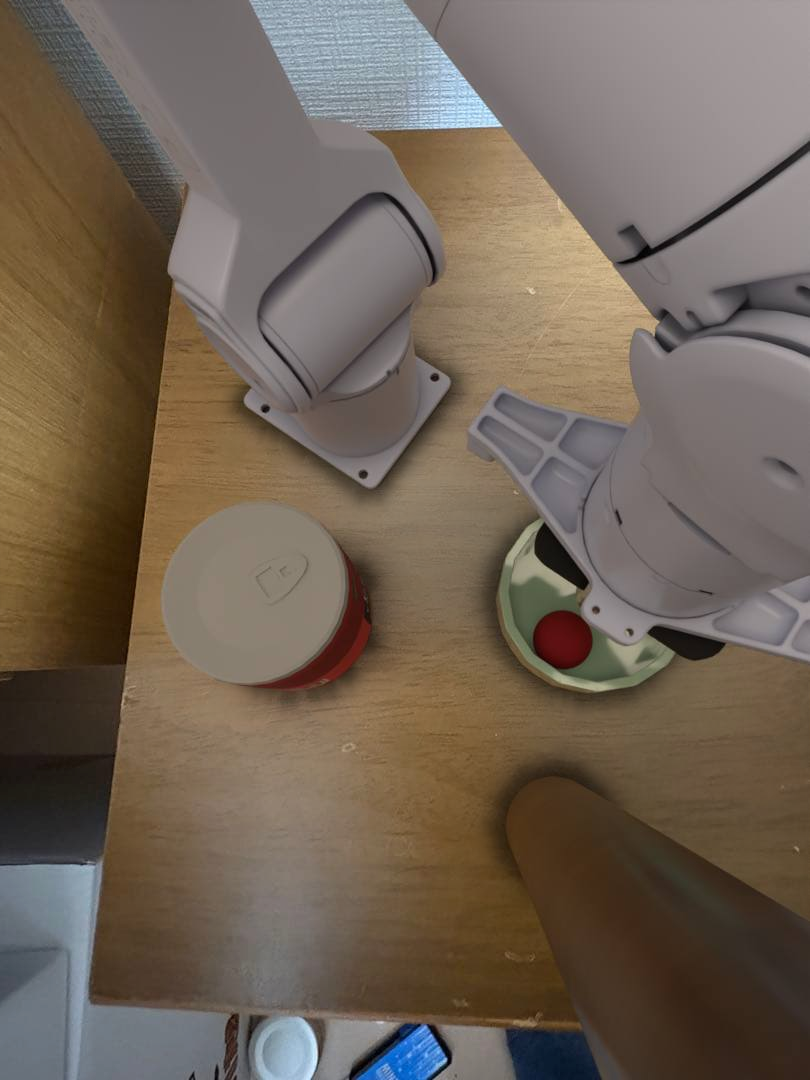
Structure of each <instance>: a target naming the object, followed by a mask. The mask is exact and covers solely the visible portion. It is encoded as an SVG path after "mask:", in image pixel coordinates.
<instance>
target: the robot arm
mask: <svg viewBox="0 0 810 1080" xmlns="http://www.w3.org/2000/svg"><path fill="white" fill-rule="evenodd" d="M402 1H403V3H404V4H405V5H406V7H407V8H408V9H409V10H410V12H411V13H412V14H413V15H414V16H415V18H416V20H417V21H418V22H419V23H420V24H421V25H422V27H423V28H424V30H425V31H426V32H427V33H428V34H429V36H430V37H431V38H432V40H433V41H434V42H435V43H437V45H438V47H439V48H440V49H441V50H442V51H443V53H444V54H445V55H446V57H447V58H448V59H449V60H450V62H451V63H452V64H453V66H454V67H455V68H456V69H457V70H458V72H459V73H460V74H461V75H462V77H463V78H464V79H465V81H466V82H467V83H468V84H469V86H470V87H471V88H472V89H473V91H474V92H475V93H476V95H477V96H478V97H479V98H480V100H482V102H483V103H484V105H485V106H486V107H487V109H488V110H489V111H490V112H491V114H492V115H493V116H494V117H495V119H496V120H497V121H498V122H499V124H500V125H501V126H502V128H503V129H504V131H506V132H507V134H508V135H509V136H510V137H511V139H512V140H513V142H514V143H515V145H517V147H519V149H520V150H521V152H522V153H523V154H524V156H526V158H527V159H528V160H529V162H530V163H531V164H532V166H534V168H535V169H536V171H537V172H539V174H540V176H541V177H542V178H543V179H544V180H545V182H546V183H547V184H548V185H549V187H550V188H551V190H553V192H554V193H555V194H556V196H557V197H558V198H559V200H560V201H561V202H562V203H563V205H564V206H565V207H566V209H567V210H568V211H569V212H570V214H572V216H573V217H574V219H575V220H576V221H577V222H578V223H579V225H580V226H581V227H582V229H583V230H584V232H585V233H587V235H588V236H589V237H590V239H591V240H592V241H593V243H594V244H595V246H597V248H598V249H599V250H600V251H601V253H602V254H603V255H604V256H605V258H606V259H607V260H608V261H609V262H610V263H611V264H612V267H613V269H615V271H616V272H617V273H618V275H619V276H620V277H621V278H622V279H623V281H624V282H625V284H627V286H628V288H630V290H631V291H632V292H633V293H634V295H635V296H636V297H637V298H638V300H639V301H640V303H641V304H642V305H643V306H644V307H645V308H646V310H647V311H648V312H649V314H650V315H651V316H652V318H653V319H654V320H656V321H658V324H656V325H655V327H654V328H655V329H654V335H653V334H652V333H651V332H650V331H649V330H647V329H645V328H642V327H637V328H635V329H634V331H633V332H632V336H631V339H630V344H629V351H628V352H629V354H628V362H629V363H628V364H629V365H628V367H629V373H630V379H631V383H632V388H633V391H634V393H635V396H636V400H637V401H638V404H639V406H640V407H639V409H638V411H636V413H635V415H634V417H633V419H632V421H631V422H630V423H627V422H622V421H619V420H614V419H610V418H605V417H601V416H596V415H593V414H589V413H584V412H579V411H575V410H570V409H566V408H562V407H558V406H553V405H550V404H546V403H543V402H540V401H537V400H534V399H530V398H529V397H526V396H524V395H522V394H520V393H518V392H516V391H514V390H513V389H511V388H509V387H507V386H506V385H504V384H503V383H501V384H499V385H498V386H497V387H496V389H495V390H494V391H493V393H492V394H491V396H490V397H489V399H488V400H487V401H486V403H485V404H484V405H483V407H482V409H481V410H480V411H479V412H478V414H477V415H476V416H475V418H474V419H473V420H472V422H471V423H470V424H469V426H468V428H467V431H466V433H467V434H466V439H467V440H466V449H467V450H468V451H469V452H471V453H472V454H474V455H475V456H477V457H478V458H480V459H481V460H483V461H485V462H487V463H492V462H495V461H496V462H497V463H498V464H499V466H501V468H503V470H504V471H505V472H506V473H507V475H508V476H509V477H510V478H511V480H512V481H513V482H514V484H515V485H516V486H517V488H518V489H519V490H520V492H521V493H522V494H523V495H524V497H525V498H526V499H527V501H528V502H529V503H530V505H531V506H532V507H533V509H534V510H535V512H536V513H537V514H538V515H539V516H540V518H542V519H543V520H544V523H543V524H542V526H541V527H540V529H539V530H538V532H537V535H536V538H535V543H534V554H535V555H536V557H537V558H538V559H539V561H540V562H541V563H542V564H544V565H545V566H546V567H548V568H549V569H551V570H552V571H554V572H555V573H557V574H558V575H560V576H561V577H563V578H564V579H566V580H567V581H569V582H570V583H572V584H573V585H575V586H576V587H578V588H579V589H581V590H585V588H586V587H587V586H588V584H590V590H589V593H588V595H587V596H586V598H585V599H584V601H583V602H582V605H581V608H580V611H581V616H582V618H583V619H584V620H585V621H586V623H587V624H589V625H590V626H592V627H593V628H595V629H596V630H598V631H599V632H601V633H602V634H604V635H605V636H607V637H608V638H609V639H611V640H612V641H614V642H615V643H617V644H619V645H622V646H625V647H626V646H631V645H635V644H638V643H639V642H640V641H641V640H642V639H643V638H644V637H645V635H646V634H648V635H650V636H651V637H653V638H654V639H656V640H657V641H659V642H660V643H662V644H663V645H665V646H666V647H668V648H669V649H671V650H672V651H674V652H675V654H676V655H679V656H680V657H681V658H684V659H685V660H689V661H692V662H693V661H694V662H696V661H703V660H707V659H711V658H713V657H714V656H716V655H718V654H720V652H721V651H722V650H723V649H724V648H725V646H726V644H728V645H731V646H736V647H740V648H744V649H747V650H751V651H755V652H759V653H763V654H765V655H766V654H767V655H771V656H774V657H779V658H782V659H786V660H790V661H794V662H797V663H800V664H803V665H807V666H810V0H402ZM60 2H61V4H62V5H63V6H64V7H65V9H66V10H67V12H68V13H69V15H70V16H71V18H72V20H73V21H74V22H75V24H76V25H77V26H78V28H79V30H80V31H81V33H83V35H84V36H85V38H86V39H87V41H88V42H89V44H90V45H91V46H92V48H93V49H94V51H95V52H96V54H97V55H98V57H99V58H100V60H101V61H102V63H103V64H104V65H105V67H106V69H107V70H108V71H109V72H110V74H111V75H112V77H113V78H114V80H115V82H116V83H117V85H118V86H119V88H120V89H121V90H122V92H123V93H124V95H125V96H126V98H127V99H128V100H129V102H130V103H131V104H132V106H133V107H134V109H135V110H136V112H137V113H138V115H139V116H140V117H141V119H142V121H143V122H144V123H145V125H146V127H147V128H148V130H149V131H150V132H151V133H152V135H153V136H154V138H155V139H156V141H157V142H158V144H159V145H160V147H161V148H162V150H163V151H164V152H165V154H166V155H167V156H168V158H169V160H170V161H171V162H172V164H173V165H174V167H175V168H176V170H177V171H178V173H179V174H180V176H181V177H182V179H183V180H184V181H185V182H186V184H187V185H188V191H187V195H186V200H185V202H184V206H183V209H182V212H181V217H180V219H179V223H178V227H177V230H176V232H175V233H176V234H175V237H174V240H173V244H172V247H171V251H170V255H169V258H168V263H167V275H169V276H170V278H171V280H172V281H174V283H173V284H174V285H173V286H174V287H173V288H174V291H175V292H176V294H177V295H178V296H179V297H180V299H181V300H182V301H183V303H184V304H185V305H186V306H187V308H188V309H189V311H190V312H191V313H192V315H193V316H194V318H195V322H196V325H197V327H198V329H199V330H200V332H201V333H202V335H203V336H204V337H205V339H206V340H207V341H208V342H209V343H210V345H211V346H212V348H214V350H215V351H216V352H217V353H218V355H219V356H221V358H222V359H223V360H224V361H225V362H226V363H227V364H228V366H230V367H231V369H232V370H233V371H234V372H235V373H236V374H237V375H238V376H239V377H241V379H242V380H243V381H244V382H245V383H246V384H247V385H249V386H250V387H251V388H250V389H248V391H247V392H246V394H245V395H244V398H243V404H244V406H245V407H246V408H247V409H248V410H250V411H251V412H253V413H254V414H256V415H257V416H259V417H260V418H262V419H263V420H265V421H266V422H268V423H269V424H271V425H272V426H274V427H275V428H276V429H278V430H279V431H281V432H282V433H284V434H285V435H287V436H288V437H290V438H291V439H292V440H294V441H295V442H297V443H299V444H300V445H302V446H303V447H305V448H306V449H308V450H309V451H311V453H313V454H315V455H316V456H318V457H319V458H321V459H323V460H324V461H325V462H326V463H329V464H330V465H331V466H333V467H334V468H335V469H337V470H338V471H340V472H341V473H343V474H344V475H346V476H347V477H349V478H350V479H352V480H353V481H355V482H356V483H358V484H359V485H361V486H362V487H364V488H365V489H368V490H374V489H377V488H378V487H379V485H380V484H381V483H382V481H383V480H384V478H385V477H386V476H387V474H388V473H389V472H390V470H392V468H393V466H394V465H395V464H396V462H397V461H398V460H399V458H400V457H401V455H402V454H403V453H404V452H405V450H406V449H407V447H408V446H409V445H410V444H411V442H412V441H413V439H414V438H415V437H416V435H417V434H418V433H419V431H420V430H421V428H422V427H423V426H424V424H425V422H427V420H429V418H430V416H431V415H432V413H433V412H434V410H435V409H436V408H437V406H438V405H439V404H440V402H441V401H442V400H443V399H444V397H445V396H446V394H447V393H448V391H449V390H450V389H451V385H452V382H451V378H450V377H449V375H447V374H445V373H444V372H442V371H441V370H439V369H437V367H434V366H433V365H431V364H430V363H428V362H426V360H423V359H422V358H420V357H419V356H417V355H416V351H415V349H416V348H415V341H414V335H413V334H414V332H413V319H414V317H415V314H416V313H417V311H418V310H419V308H420V307H421V306H422V304H423V302H422V293H423V292H424V290H425V289H427V288H430V287H432V286H434V285H436V284H437V283H438V282H439V281H440V280H441V279H442V278H443V277H444V276H445V273H446V270H447V258H446V257H447V256H446V251H445V243H444V239H443V235H442V232H441V230H440V227H439V226H438V224H437V221H436V220H435V218H434V215H433V214H432V213H431V211H430V209H429V208H428V206H427V205H426V204H425V202H424V200H423V199H422V197H420V195H419V194H418V193H417V192H416V191H415V190H414V189H413V187H412V186H411V184H410V183H409V181H408V180H407V178H406V176H405V174H404V173H403V171H402V169H401V167H400V166H399V163H398V162H397V159H396V157H395V156H394V154H393V152H392V150H391V148H389V146H387V145H386V144H385V143H383V142H382V141H381V140H380V139H378V138H377V137H375V136H374V135H373V134H371V133H369V132H367V131H366V130H364V129H363V128H360V127H359V126H356V125H354V124H352V123H349V122H346V121H343V120H338V119H334V118H333V119H332V118H309V117H308V115H307V112H306V111H305V109H304V107H303V105H302V103H301V101H300V99H299V97H298V95H297V93H296V90H295V88H294V87H293V85H292V83H291V81H290V79H289V76H288V74H287V72H286V71H285V69H284V67H283V65H282V63H281V60H280V58H279V56H278V55H277V53H276V51H275V49H274V47H273V44H272V42H271V40H270V39H269V36H268V34H267V33H266V31H265V29H264V27H263V25H262V23H261V21H260V19H259V16H258V15H257V13H256V11H255V8H254V6H253V5H252V2H251V1H250V0H60ZM433 377H437V378H438V380H436V381H434V380H432V378H433ZM265 408H269V411H267V412H263V411H264V409H265ZM362 473H366V474H367V476H366V477H364V478H361V476H360V475H361V474H362ZM592 609H595V610H596V612H597V613H596V614H594V613H593V611H592ZM626 631H628V632H629V636H627V635H626Z"/></svg>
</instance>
